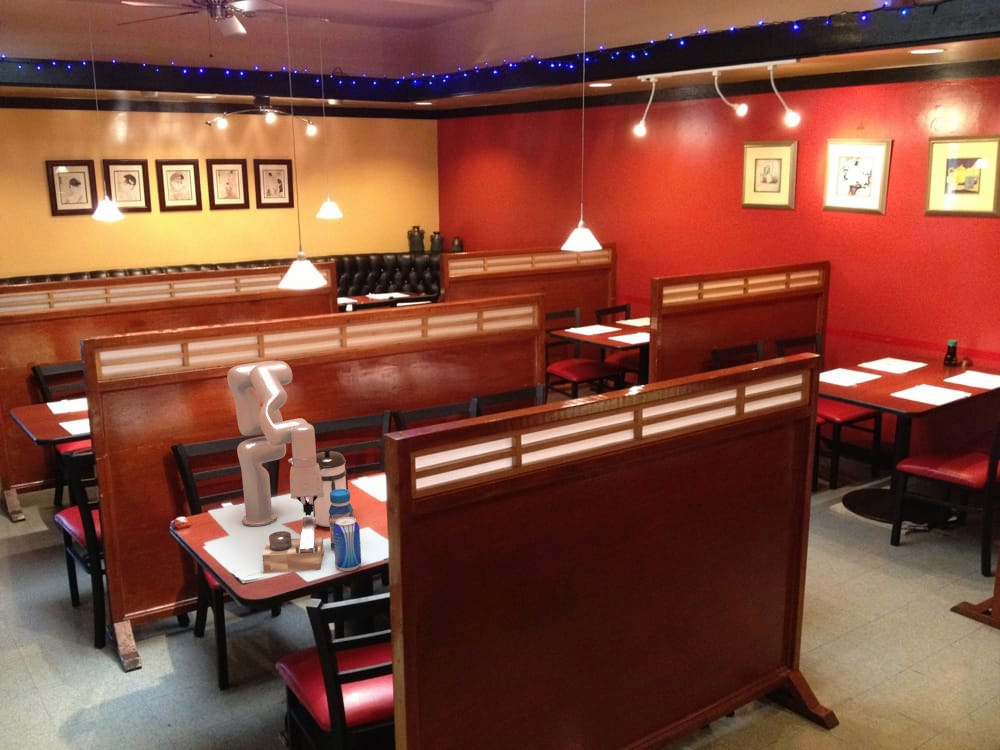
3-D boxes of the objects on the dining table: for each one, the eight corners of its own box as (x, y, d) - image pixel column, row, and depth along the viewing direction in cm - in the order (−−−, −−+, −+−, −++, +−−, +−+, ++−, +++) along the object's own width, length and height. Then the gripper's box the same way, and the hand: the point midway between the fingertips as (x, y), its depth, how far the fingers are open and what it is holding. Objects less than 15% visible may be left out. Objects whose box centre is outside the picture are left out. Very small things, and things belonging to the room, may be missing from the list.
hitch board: (269, 556, 284) (268, 535, 282) (323, 553, 286) (322, 532, 284) (263, 572, 272) (261, 550, 270) (320, 569, 274) (318, 547, 272)
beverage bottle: (360, 544, 292) (357, 490, 288) (343, 553, 285) (340, 498, 281) (342, 539, 297) (339, 486, 292) (325, 548, 290) (321, 493, 285)
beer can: (332, 563, 278) (330, 518, 274) (357, 559, 281) (355, 514, 278) (338, 574, 270) (335, 527, 267) (364, 569, 274) (361, 523, 270)
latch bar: (303, 519, 282) (303, 516, 281) (315, 519, 283) (315, 516, 282) (300, 553, 272) (299, 550, 271) (313, 553, 273) (312, 550, 272)
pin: (272, 558, 281) (270, 531, 279) (294, 557, 282) (292, 530, 280) (269, 567, 275) (267, 540, 272) (291, 566, 275) (289, 539, 273)
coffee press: (358, 528, 306) (354, 450, 299) (314, 536, 300) (309, 455, 293) (349, 512, 322) (344, 436, 315) (306, 518, 316) (301, 442, 309)
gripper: (279, 466, 271) (284, 519, 275) (326, 464, 273) (330, 517, 277) (283, 459, 279) (287, 511, 283) (329, 456, 280) (332, 508, 284)
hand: (308, 514), depth 280 cm, fingers closed
